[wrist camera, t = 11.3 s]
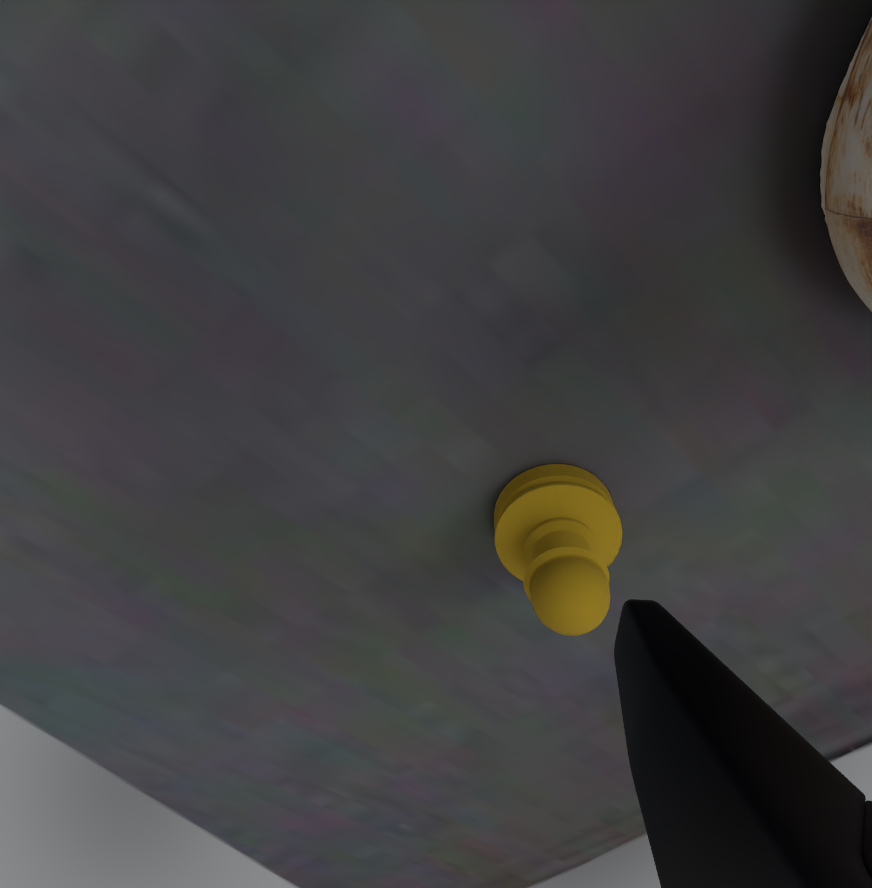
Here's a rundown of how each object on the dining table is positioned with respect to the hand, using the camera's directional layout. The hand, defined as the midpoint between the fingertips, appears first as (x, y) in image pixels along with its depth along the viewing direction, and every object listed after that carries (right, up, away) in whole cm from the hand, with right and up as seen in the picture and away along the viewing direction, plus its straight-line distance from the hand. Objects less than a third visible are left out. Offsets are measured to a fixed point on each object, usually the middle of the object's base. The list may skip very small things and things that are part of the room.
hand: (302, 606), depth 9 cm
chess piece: (+6, 0, +13) cm, 14 cm away
